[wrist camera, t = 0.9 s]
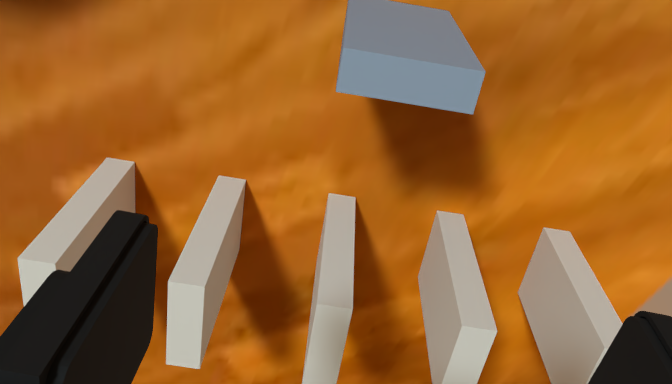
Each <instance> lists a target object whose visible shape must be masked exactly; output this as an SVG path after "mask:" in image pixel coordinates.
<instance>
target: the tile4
mask: <svg viewBox="0 0 672 384" xmlns="http://www.w3.org/2000/svg"><path fill="white" fill-rule="evenodd" d="M245 185H246V180H244V179H238V178H232V177H225V176H218V178H217V180H216V182H215V184H214V186H213V189H212V191H211V193H210V195H209V197H208V199H207V201H206V203H205V205H204V207H203V209H202V211H201V214H200V216H199V218H198V220H197V222H196V224H195V226H194V228H193V230H192V232H191V234H190V236H189V239H188V241H187V243H186V245H185V247H184V249H183V251H182V253H181V255H180V257H179V259H178V261H177V263H176V266H175V268H174V270H173V272H172V274H171V276H170V278H169V280H168V301H167V346H166V364H168V365H175V366H182V367H189V368H196V369H200V367H201V364H202V361H203V358H204V355H205V352H206V349H207V346H208V343H209V339H210V336H211V333H212V330H213V327H214V324H215V321H216V318H217V315H218V312H219V309H220V306H221V303H222V300H223V297H224V294H225V291H226V288H227V285H228V282H229V279H230V276H231V273H232V270H233V267H234V264H235V261H236V258H237V255H238V252H239V249H240V238H241V228H242V217H243V206H244V196H245Z"/></svg>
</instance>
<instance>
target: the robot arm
mask: <svg viewBox="0 0 672 384" xmlns="http://www.w3.org/2000/svg"><path fill="white" fill-rule="evenodd" d="M157 237H158V228H157V225H154V224H149V218H148V216H147V215H142V214H137V213H132V212H127V211H122V210H116V211H115V212H114V213H113V215H112V216H111V217H110V219H109V220H108V222H107V223H106V224H105V226H104V227H103V228H102V230H101V231H100V232H99V234H98V235H97V236H96V238H95V239H94V240H93V242H92V243H91V244H90V246H89V247H88V248H87V250H86V251H85V252H84V254H83V255H82V256H81V258H80V259H79V260H78V262H77V263H76V264H75V266H74V267H73V268H72V270H71V271H70V272H69V271H63V270H56V271H53V272H52V273H51V274H50V275H49V276H48V277H47V278H46V280H45V281H44V282H43V283H42V285H41V286H40V287H39V289H38V290H37V291H36V292H35V294H34V295H33V296H32V297H31V299H30V300H29V301H28V302H27V304H26V305H25V306H24V307H23V309H22V310H21V311H20V312H19V314H18V315H17V316H16V318H15V319H14V320H13V321H12V323H11V324H10V325H9V326H8V328H7V329H6V330H5V331H4V333H3V334H2V335H1V336H0V384H131V383H132V381H133V378H134V376H135V374H136V372H137V370H138V368H139V366H140V363H141V361H142V359H143V357H144V355H145V353H146V351H147V348H148V346H149V343H150V340H151V336H152V331H153V316H154V296H155V277H156V257H157ZM588 384H672V317H670V316H667V315H662V314H657V313H651V312H646V311H639V312H638V313H636V314H635V315H634V316H630V317H628V318H627V319H626V320H625V321H624V323H623V325H622V326H621V328H620V330H619V331H618V333H617V335H616V336H615V338H614V340H613V342H612V343H611V345H610V347H609V348H608V350H607V352H606V354H605V355H604V357H603V359H602V360H601V362H600V364H599V366H598V367H597V369H596V371H595V372H594V374H593V376H592V377H591V379H590V381H589V383H588Z"/></svg>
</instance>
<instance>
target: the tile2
mask: <svg viewBox="0 0 672 384" xmlns="http://www.w3.org/2000/svg"><path fill="white" fill-rule="evenodd" d="M418 281H419V288H420V296H421V303H422V311H423V318H424V326H425V333H426V341H427V348H428V356H429V363H430V371H431V378H432V384H477V382H478V379H479V377H480V374H481V372H482V369H483V367H484V364H485V362H486V359H487V356H488V354H489V351H490V349H491V346H492V344H493V341H494V339H495V336H496V333H497V328H496V325H495V321H494V318H493V314H492V311H491V308H490V304H489V301H488V297H487V294H486V290H485V287H484V284H483V280H482V277H481V273H480V270H479V266H478V263H477V259H476V256H475V253H474V249H473V246H472V242H471V239H470V235H469V232H468V229H467V225H466V222H465V218H464V215H463V214H457V213H451V212H444V211H438V210H437V212H436V216H435V219H434V223H433V226H432V230H431V233H430V237H429V240H428V244H427V247H426V251H425V254H424V258H423V261H422V265H421V268H420V272H419V275H418Z"/></svg>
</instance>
